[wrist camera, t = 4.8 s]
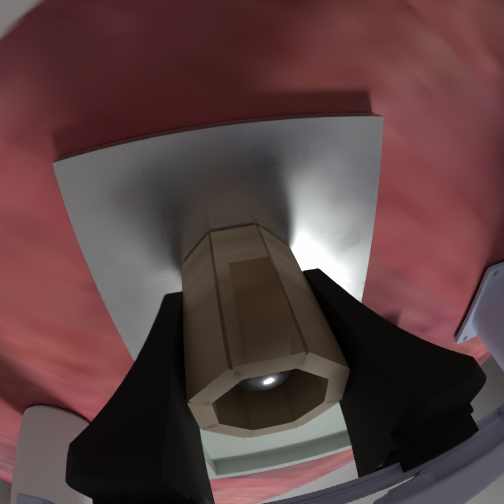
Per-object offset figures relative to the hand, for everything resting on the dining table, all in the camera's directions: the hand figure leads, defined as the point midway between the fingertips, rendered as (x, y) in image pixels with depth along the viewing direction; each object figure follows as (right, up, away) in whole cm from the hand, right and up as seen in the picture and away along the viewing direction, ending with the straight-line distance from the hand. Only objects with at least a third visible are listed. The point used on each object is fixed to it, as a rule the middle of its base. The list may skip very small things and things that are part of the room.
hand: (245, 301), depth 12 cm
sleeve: (0, +1, +1) cm, 2 cm away
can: (-15, -12, +8) cm, 21 cm away
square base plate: (-1, +1, +2) cm, 2 cm away
